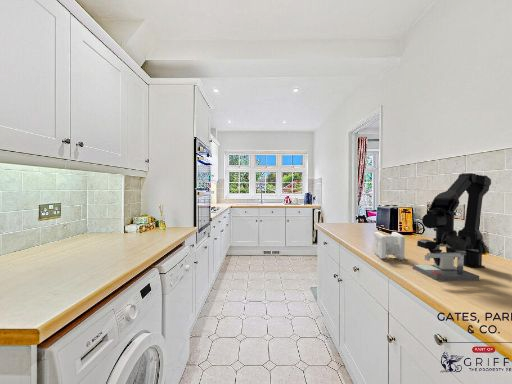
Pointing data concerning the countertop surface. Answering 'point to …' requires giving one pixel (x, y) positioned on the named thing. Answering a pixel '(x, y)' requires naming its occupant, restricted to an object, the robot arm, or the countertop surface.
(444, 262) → the light grey block
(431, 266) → the grey flat panel
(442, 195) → the robot arm
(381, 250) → the cable organizer
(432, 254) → the grey bracket
